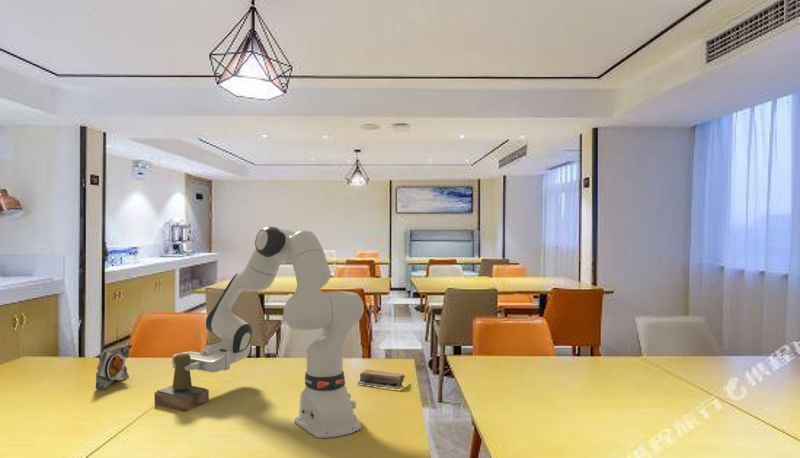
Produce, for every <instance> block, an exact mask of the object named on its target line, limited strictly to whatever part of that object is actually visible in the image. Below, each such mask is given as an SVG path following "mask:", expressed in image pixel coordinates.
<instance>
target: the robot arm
mask: <svg viewBox="0 0 800 458" xmlns="http://www.w3.org/2000/svg"><path fill="white" fill-rule="evenodd" d="M254 243H255V244H254V245H255V248H254V250H253V251H252V253H251V255H250V257H249V260H248V261H247V263H246V265H245V267H244V268H243V270H242V271H238V272H236V273H235V275H234V276H232V277H231V279H230V280H229V283H228V284H227V286H226V287H225V289H224V291H223V292H222V294H221V295H220V296H219V299H218V301H217V302H216V304H215V305H214V306H213V308H212V309H211V310H210V312H209V313H208V315H207V316H206V318H205V327H206V330H207V331H209V332H210V333H212V334H214V335H215V336H217V337H218V338H220V339H221V341H220V342H217V343H213V344H209V345H205V346H204V347H203V348H201V350H200V352H197V351H185V352H184V351H183V352H179V353H175V354H173V355H172V358H171V359H172V360H171V364H172V369H174V370H175V363H174V357H175V356H176V355H178V354H182V353H185V354H189V355H190V358H191V359H190V362H189V364H187V365H184V370H185V371H189V370H190V371H194V370H197V371H203V372H208V373H216V372H217V373H218V372H220V371H221V372H222V371H228V370H230V368H231V365H233V364H235V363H237V362H240V361H241V360H244V359H245V358H246V357H248V355H249V354H250V352H251V347H252V346H251V343H250V342H251V340H252V338H253V337H252V334H253V328H252V325H251V324H249V323H248V322H246V321H245V320H244V319H242V318H240V317H239V316H237V315H236V314H234V313H233V311H232V308H233V306H234V305H235V303H236V301H237V299H238V298H239V296H240V294H241V293H242V292H243V291H249V292H262V291H265V290H266V289H268V288H270V287H271V286H272V284H273V283H274V281H275V278H276V276H277V274H278V272H279V271H278V270H279V268H280V265H281V263H283V262H284V263H292V264H291V265H292V267H293V271H294V276H295V279H296V289H295V292H294V293H293V295H292V296H291V297H289V298H288V300H287V301H286V303H284V304H285V305H284V307H283V318H284V322H285V323H286V324H287V326H288V327H289V328H290V329H291V330H297V331H298V330H299V331H311V330H319V329H320V330H321V329H322V331H321V333H320V335H319V336H318V337H317V338H316V339H314V340H313V341H312V342H310V344H309V345H308V347H307V349H306V372H305V376H304V384H305V388H303V390H302V392H301V393H300V396H299V398H300V399H299V412H298V414H299V415H298V416H296V417H295V418H294V423H295V424H296V425H297V426H299V427H301V428H302V429H303V430H305V431H307V432H308V433H310V434H311V435H312V436H313V437H315V438H316V439H317V438H320V439H324V438H325V439H327V438H335V437H336V438H337V437H341V436H347V435H350V433H351V434H354V433H356V432H355V431H357V432H359V431H360V430H362V425H361V423H360V421H359V418H358V417H357V415H356V413H355V411H354V410H355V409H356V408H357V405H356V404H357V402H356V401H355V400H351V397H352V396H351V393H349V392H348V390H347V386H345V385H346V380H345V379H346V377H345V372H344V370H343V359H344V348H345V344H346V340H347V338H348V336H349V334H350V332H351V330H352V329H353V328H354V326H355V325H356V324H357V323H358V322H360V320H361V319H362V316H364V315H363V314H364V310H365V309H364V308H365V307H364V306H365V305H364V302H363V300H362V298H361V296H360V295H359V294H358V293H356V292H352V291H344V290H338V291H326V292H324V291H322V290H321V289H322V288H323V287H325V286H326V284H328V283H329V281H330V279H331V276H332V275H331V274H332V273H331V269H330V266H329V263H328V261H327V258H326V254H325V251H324V250H323V247H322V245H321V243H320V241H319V239H318V237H317V236H316V235H315V233H314V232H312V231H310V230H306V229H305V230H300V231H296V232H295V231H292V230H290V229H284V228H279V227H275V226H264V227H263V228H261V229H260V230H259V231H258V233H257V235H256V236H255V242H254ZM359 429H360V430H359ZM358 430H359V431H358ZM353 432H354V433H353ZM346 434H347V435H346Z"/></svg>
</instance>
